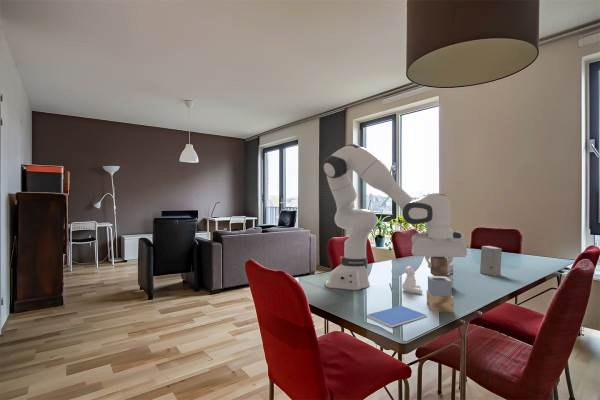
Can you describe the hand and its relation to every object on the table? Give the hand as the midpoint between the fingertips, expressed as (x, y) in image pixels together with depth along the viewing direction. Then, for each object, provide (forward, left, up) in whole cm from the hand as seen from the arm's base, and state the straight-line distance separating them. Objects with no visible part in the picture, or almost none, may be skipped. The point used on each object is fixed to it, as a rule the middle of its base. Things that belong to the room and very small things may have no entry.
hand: (438, 267), depth 122 cm
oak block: (0, 0, -16) cm, 16 cm away
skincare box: (+46, +61, -16) cm, 78 cm away
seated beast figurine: (-6, +22, -16) cm, 28 cm away
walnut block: (0, 0, -3) cm, 3 cm away
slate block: (0, 0, -10) cm, 10 cm away
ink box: (+11, +30, -16) cm, 36 cm away
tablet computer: (-18, -11, -17) cm, 27 cm away
